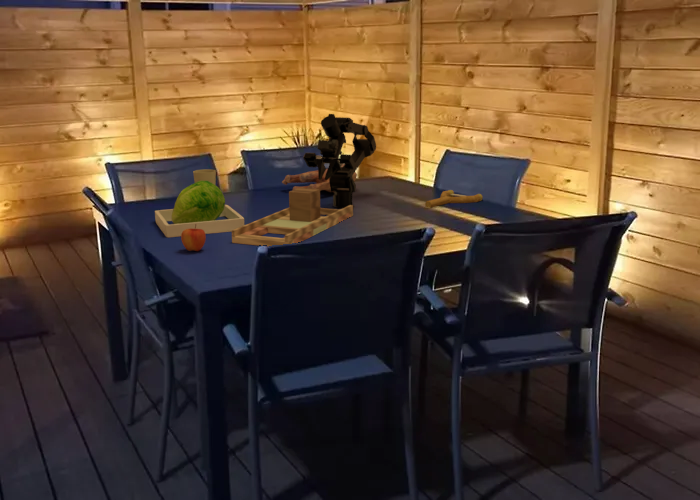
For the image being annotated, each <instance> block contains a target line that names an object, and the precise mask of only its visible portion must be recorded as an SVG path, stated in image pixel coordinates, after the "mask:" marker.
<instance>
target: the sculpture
mask: <svg viewBox="0 0 700 500" xmlns="http://www.w3.org/2000/svg"><path fill="white" fill-rule="evenodd" d="M344 165H345V164H342V166H341V167H343V166H344ZM327 170H328V167H327V168H326V170H325V172H324V174H323V177H322V178H321V180H319V176H318V169H317V170H310V171H307V172H306V171H305V172H303V173H299V174H295V175H294V174H292V175H291V174H287V175H285V177H284V179H283V180H282V181H281V183H282V184H283V185H285V186H286V185H288V184H302V183H303V184H304V183H310V184H309V185H305V186H303V185H302V186H296V185H295V186H293V187H292V190H295V189H298V188H308V189H320V191H326V192H328V193H332V194H334V191H331V188H330V183H329V179H327V180H325V175H326V172H327ZM352 177H353V180H354V182H355V181H356V180H357V177H358V174H357V171H355V173H354V174H353V175H352ZM313 183H314V184H313ZM355 183H356V182H355Z"/></svg>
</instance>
